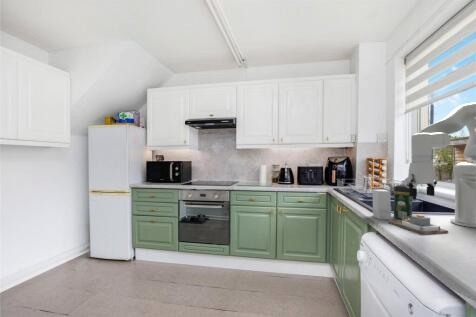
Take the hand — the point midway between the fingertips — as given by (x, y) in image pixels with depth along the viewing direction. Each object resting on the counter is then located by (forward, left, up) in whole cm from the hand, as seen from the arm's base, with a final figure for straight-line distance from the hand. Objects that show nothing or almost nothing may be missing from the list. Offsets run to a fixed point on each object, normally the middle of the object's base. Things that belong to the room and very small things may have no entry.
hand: (421, 196), depth 107 cm
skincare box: (+3, -21, -16) cm, 27 cm away
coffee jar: (-9, -19, -16) cm, 27 cm away
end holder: (+1, 0, -16) cm, 16 cm away
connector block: (+1, 0, -15) cm, 15 cm away
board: (0, -3, -16) cm, 16 cm away
